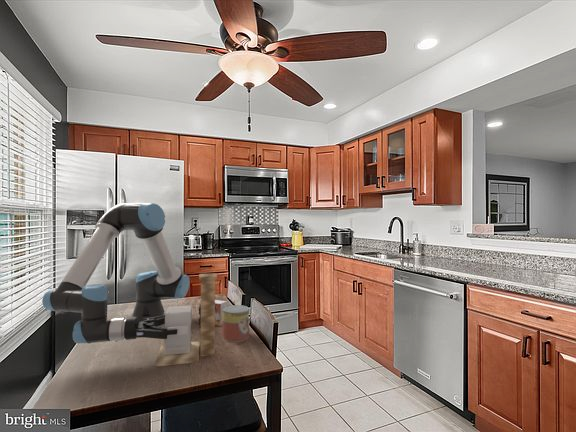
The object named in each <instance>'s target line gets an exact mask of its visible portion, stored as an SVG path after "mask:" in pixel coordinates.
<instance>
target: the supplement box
mask: <svg viewBox="0 0 576 432" xmlns="http://www.w3.org/2000/svg"><path fill="white" fill-rule="evenodd" d="M192 311H193V305H180V306H179V305H177V306H168V307H167V309H166V310H165V312H164V315H165V324H164V328H166V329H167V330H168V327H178V326H188V334H184V335H172V336H168V335H167V339H164V344H165V355H173V354H184V353H190V351H191V342H192V335H193V333H192V331H193V328H192V324H193V319H192V317H193V312H192Z"/></svg>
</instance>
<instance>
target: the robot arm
mask: <svg viewBox="0 0 576 432" xmlns="http://www.w3.org/2000/svg"><path fill="white" fill-rule="evenodd" d="M165 224H166V215H165V212H164V210H163V208H162V207H161V205H159V204H158V203H157V204H156V203H153V202H122V203H118V204H116V205H114V206H113V207H111V208H110V209H108V210H107V211H106V212H105V213H104V214H103V215H102V216H101V217H100V218H99V220H98V221H97V223H96V224H95V226H94V228H95V230H94V232H93V233H92V235H91V237H90V238H89V240H88V241H87V242H86V244H85V245H84V247H83V248H82V250H81V251H80V253H79V254H78V256H77V258H76V259H75V261H73V263H72V265H71V267H70V268H69V270H68V271H67V273H65V274H66V275H65V276H64V277H63V279H62V280H61V282H60V284H59V285H58V286H57V287H55V288H50V289H49V290H47V291H46V292H45V293H44V295H43V296H42V300H41V301H42V306H43V307H44V308H45V309H46V310H47V311H53V312H56V313H57V312H68V313H69V312H71V313H81V320H78V321H76V322H75V324H73V325H74V326H73V330H72V340H73V341H74V343H75V344H95V343H104V342H115V343H118V342H119V341H123V340H126V341H128V340H136V339H138V338H147V339H156V340H165V339H167V335H168V336H172V335H184V334H188V326H178V327H168V330H167V329H166V328H165V327H161V326H164V325H165V310H164V306H163V304H162V299H163V298H164V299H173V300H174V299H175V300H177V299H183V298H185V297H186V295H187V294H188V293H189V292H188V291H189V288H190V283H191V282H190V277H189V275H187V274H183V273H182V271H181V269H180V268H179V267H176V265H175V261H174V259H173V257H172V254H171V252H170V249H169V247H168V245H167V242H166V240H165V237H164V236H163V233H162V231H163V230H164V226H165ZM124 231H133V232H134V234H135V237H136V238H137V239H140V240H141V241H142V243H143V245H144V247H145V249H146V252H147V255H148V256H149V258H150V261H151V262H152V265H153V267H154V269H155V270H151V271H144V272H140V273H138V274H137V276H136V277H135V278H136V280H135V306H134V308H133V311H132V313H131V316H129V317H127V318H126V317H115V318H114V317H113V318H108V299H109V296H108V295H109V294H108V287H107V285H106V284H103V283H96V284H95V283H93V284H88V282H89V281H90V278H91V277H92V276H93V274H94V272H95V271H96V269H97V267H98V266H99V264H100V262H101V261H102V259H103V258H104V256H105V254H106V253H107V250H108V249H109V248H110V246H111V244H112V243H113V241H114V239H115V238H118V237H119V236H120V235H121V233H122V232H124Z"/></svg>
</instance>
